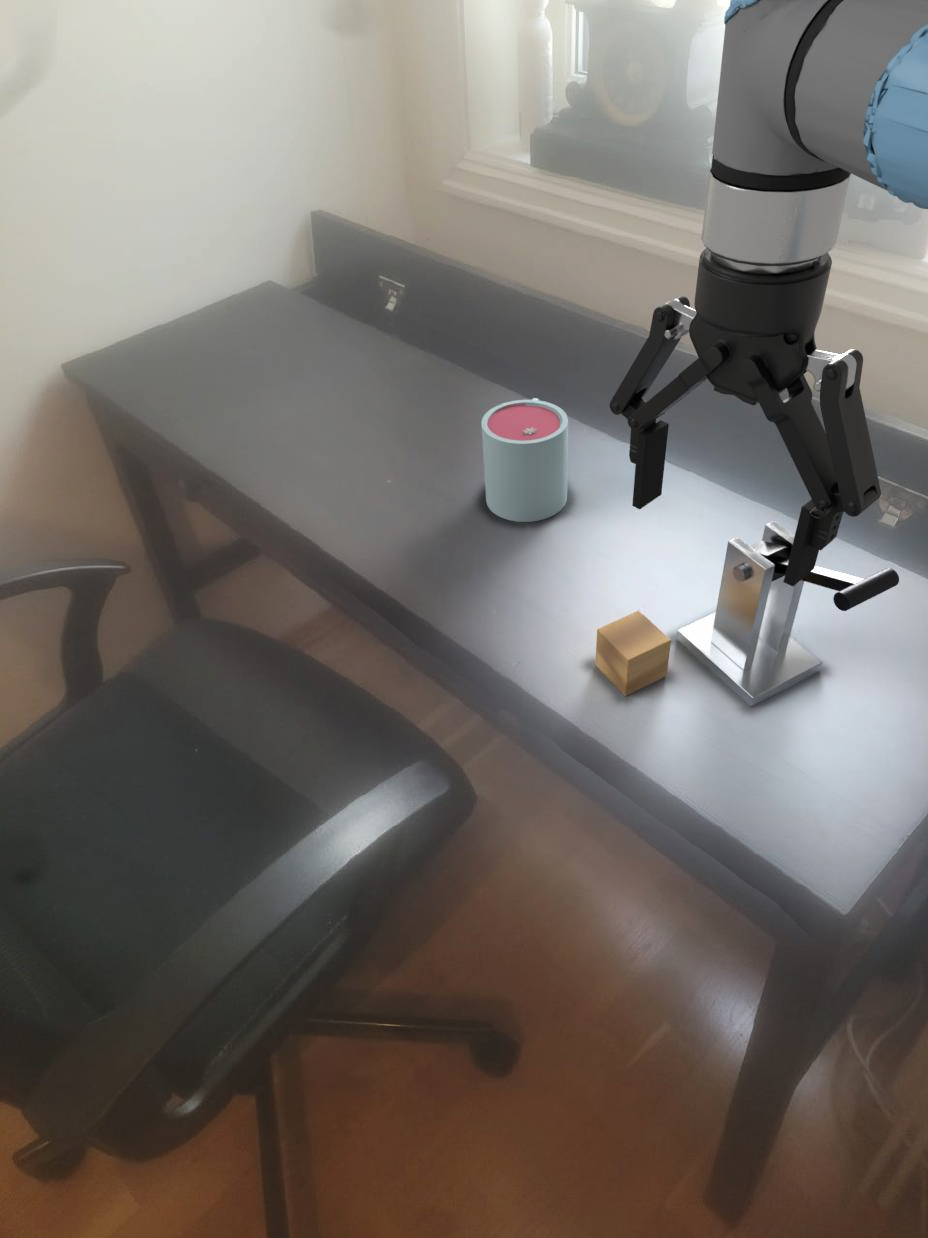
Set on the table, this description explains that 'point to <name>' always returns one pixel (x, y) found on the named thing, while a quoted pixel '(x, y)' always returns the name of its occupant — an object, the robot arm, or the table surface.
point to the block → (632, 652)
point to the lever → (832, 578)
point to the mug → (525, 459)
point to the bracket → (752, 625)
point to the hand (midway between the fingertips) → (718, 536)
